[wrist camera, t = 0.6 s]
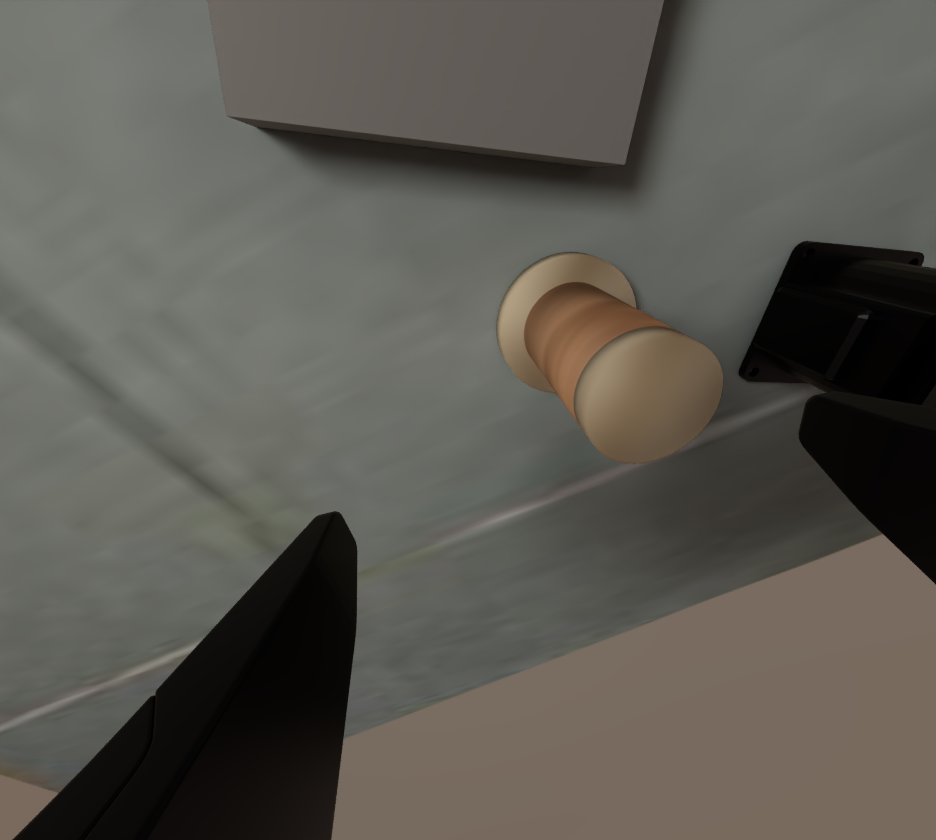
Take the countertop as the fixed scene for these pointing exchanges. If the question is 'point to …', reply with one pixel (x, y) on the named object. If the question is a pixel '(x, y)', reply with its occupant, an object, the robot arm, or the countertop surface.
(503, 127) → the gray u-shaped block
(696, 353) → the spool
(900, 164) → the countertop surface
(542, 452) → the countertop surface
